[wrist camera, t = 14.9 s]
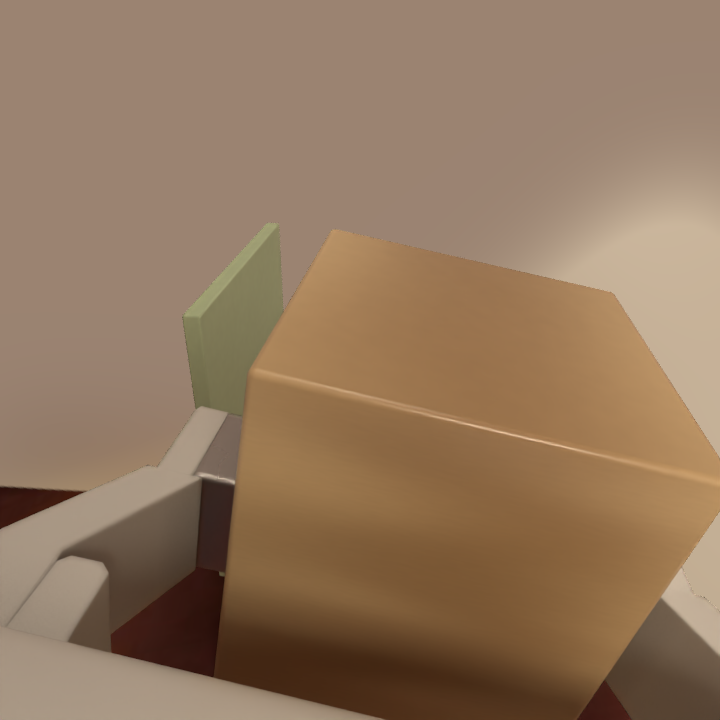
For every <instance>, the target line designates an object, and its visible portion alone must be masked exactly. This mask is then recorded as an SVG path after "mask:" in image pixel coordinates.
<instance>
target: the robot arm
mask: <svg viewBox="0 0 720 720" xmlns="http://www.w3.org/2000/svg"><path fill="white" fill-rule="evenodd" d="M241 425H242V416H241V415H237V414H233V413H231V414H230V413H228V412H224V411H220V410H216V409H212V408H208V407H204V406H200V407H199V408H197V409H196V410H195V411H194V412H193V414H192V415H191V417H190V418H189V420H188V421H187V423H186V424H185V425H184V427H183V429H182V430H181V431H180V433H179V434H178V436H177V438H176V439H175V440H174V442H173V443H172V445H171V446H170V448H169V449H168V451H167V452H166V454H165V455H164V457H163V458H162V460H161V461H160V463H159V464H158V466H157V467H155V466H150V465H146V466H144V467H142V468H139V469H137V470H135V471H132V472H130V473H128V474H126V475H123V476H121V477H119V478H117V479H114V480H112V481H110V482H107V483H105V484H103V485H100V486H98V487H96V488H94V489H91V490H89V491H87V492H84V493H82V494H80V495H77V496H75V497H73V498H71V499H68V500H66V501H64V502H61V503H59V504H57V505H55V506H52V507H50V508H48V509H45V510H43V511H41V512H39V513H36V514H34V515H32V516H29V517H27V518H25V519H22V520H20V521H18V522H16V523H13V524H11V525H9V526H6V527H4V528H2V529H0V720H385V719H381V718H377V717H373V716H369V715H365V714H361V713H357V712H353V711H349V710H344V709H340V708H336V707H332V706H328V705H324V704H320V703H316V702H312V701H307V700H303V699H299V698H295V697H291V696H287V695H283V694H279V693H275V692H270V691H266V690H262V689H258V688H254V687H250V686H246V685H242V684H238V683H233V682H229V681H225V680H221V679H217V678H213V677H209V676H205V675H200V674H196V673H192V672H188V671H184V670H180V669H176V668H172V667H168V666H163V665H159V664H155V663H151V662H147V661H143V660H139V659H135V658H130V657H126V656H122V655H118V654H114V653H111V634H112V633H113V632H114V631H116V630H117V629H118V628H120V627H121V626H122V625H124V624H125V623H126V622H128V621H129V620H130V619H132V618H133V617H134V616H135V615H137V614H138V613H139V612H141V611H142V610H143V609H145V608H146V607H147V606H149V605H150V604H151V603H153V602H154V601H155V600H156V599H158V598H159V597H160V596H162V595H163V594H164V593H166V592H167V591H168V590H170V589H171V588H172V587H174V586H175V585H176V584H177V583H179V582H180V581H181V580H183V579H184V578H185V577H187V576H188V575H189V574H191V573H192V572H193V571H195V567H200V568H204V569H209V570H214V571H219V572H223V573H225V569H226V560H227V551H228V542H229V533H230V524H231V515H232V506H233V497H234V488H235V479H236V470H237V461H238V452H239V443H240V434H241ZM605 681H606V682H607V684H608V685H609V687H610V688H611V690H612V691H613V693H614V694H615V696H616V697H617V699H618V700H619V702H620V703H621V704H622V706H623V707H624V709H625V710H626V712H627V713H628V715H629V716H630V718H631V719H632V720H720V611H719V610H718V609H717V608H716V607H715V606H714V605H713V604H711V603H710V602H709V601H708V600H707V599H706V598H705V597H702V596H698V595H695V594H694V592H693V590H692V588H691V586H690V583H689V581H688V579H687V577H686V575H685V573H684V570H683V568H682V567H681V569H680V570H679V571H678V573H677V574H676V576H675V577H674V579H673V580H672V582H671V583H670V585H669V586H668V588H667V589H666V590H665V592H664V593H663V595H662V596H661V598H660V599H659V601H658V602H657V604H656V605H655V607H654V608H653V609H652V611H651V612H650V614H649V615H648V617H647V618H646V620H645V621H644V623H643V624H642V625H641V627H640V628H639V630H638V631H637V633H636V634H635V636H634V637H633V639H632V640H631V642H630V643H629V644H628V646H627V647H626V649H625V650H624V652H623V653H622V655H621V656H620V658H619V659H618V661H617V662H616V663H615V665H614V666H613V668H612V669H611V671H610V672H609V674H608V675H607V677H606V678H605Z"/></svg>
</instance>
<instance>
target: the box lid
mask: <svg viewBox="0 0 720 720" xmlns="http://www.w3.org/2000/svg"><path fill="white" fill-rule="evenodd" d="M282 313H283V294H282V275H281V256H280V236H279V224H277V223H267V224H266V225H265V226H264V227H263V228H262V229H261V230H260V231H259V233H258V234H257V235H256V236H255V237H254V238H253V239H252V240H251V241H250V242H249V243H248V245H247V246H246V247H245V248H244V249H243V250H242V251H241V252H240V253H239V254H238V256H237V257H236V258H235V259H234V260H233V261H232V262H231V263H230V264H229V265H228V266H227V268H226V269H225V270H224V271H223V272H222V273H221V274H220V275H219V276H218V277H217V278H216V280H215V281H214V282H213V283H212V284H211V285H210V286H209V287H208V288H207V289H206V291H205V292H204V293H203V294H202V295H201V296H200V297H199V298H198V299H197V300H196V301H195V302H194V304H193V305H192V306H191V307H190V308H189V309H188V310H187V311H186V312H185V313H184V314H183V317H182V318H183V324H184V332H185V338H186V345H187V353H188V360H189V367H190V373H191V380H192V387H193V394H194V401H195V408H196V409H197V408H199V407H200V406H204V407H208V408H212V409H216V410H220V411H224V412H228V413H230V414H231V413H233V414H237V415H241V416H243V407H244V398H245V389H246V380H247V373H248V371H249V369H250V367H251V366H252V364H253V362H254V361H255V359H256V357H257V356H258V354H259V352H260V350H261V349H262V347H263V345H264V344H265V342H266V340H267V339H268V337H269V335H270V333H271V332H272V330H273V328H274V327H275V325H276V323H277V322H278V320H279V318H280V316H281V315H282ZM219 575H220V576H225V573H223V572H219Z"/></svg>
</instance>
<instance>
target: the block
mask: <svg viewBox="0 0 720 720" xmlns="http://www.w3.org/2000/svg"><path fill="white" fill-rule="evenodd" d="M719 512H720V458H719V456H718V455H717V453H716V452H715V450H714V449H713V447H712V446H711V444H710V442H709V441H708V439H707V438H706V436H705V435H704V433H703V432H702V430H701V428H700V427H699V425H698V424H697V422H696V421H695V419H694V418H693V416H692V415H691V413H690V411H689V410H688V408H687V407H686V405H685V404H684V402H683V400H682V399H681V397H680V396H679V394H678V393H677V391H676V390H675V388H674V387H673V385H672V383H671V382H670V380H669V379H668V377H667V376H666V374H665V373H664V371H663V369H662V368H661V366H660V365H659V363H658V362H657V360H656V359H655V357H654V355H653V354H652V352H651V351H650V349H649V348H648V346H647V345H646V343H645V341H644V340H643V339H642V337H641V335H640V334H639V332H638V331H637V329H636V328H635V326H634V325H633V323H632V321H631V320H630V318H629V317H628V315H627V314H626V312H625V311H624V309H623V308H622V306H621V304H620V303H619V301H618V300H617V298H616V296H615V295H614V294H613V293H611V292H607V291H603V290H599V289H595V288H590V287H586V286H581V285H577V284H573V283H568V282H564V281H559V280H555V279H551V278H547V277H542V276H538V275H533V274H529V273H525V272H520V271H516V270H512V269H507V268H503V267H498V266H494V265H489V264H485V263H481V262H476V261H472V260H467V259H463V258H459V257H455V256H450V255H446V254H441V253H437V252H433V251H428V250H424V249H420V248H415V247H411V246H407V245H402V244H398V243H393V242H389V241H385V240H381V239H376V238H372V237H367V236H363V235H359V234H354V233H349V232H345V231H341V230H336V229H334V230H331V232H330V233H329V235H328V237H327V238H326V240H325V242H324V243H323V245H322V247H321V248H320V250H319V252H318V254H317V255H316V257H315V259H314V260H313V262H312V264H311V265H310V267H309V269H308V271H307V273H306V274H305V276H304V277H303V279H302V281H301V282H300V284H299V286H298V288H297V289H296V291H295V293H294V294H293V296H292V298H291V299H290V301H289V303H288V305H287V306H286V308H285V310H284V311H283V313H282V315H281V316H280V318H279V320H278V322H277V323H276V325H275V327H274V328H273V330H272V332H271V333H270V335H269V337H268V339H267V340H266V342H265V344H264V345H263V347H262V349H261V350H260V352H259V354H258V356H257V357H256V359H255V361H254V362H253V364H252V366H251V367H250V369H249V371H248V373H247V380H246V389H245V398H244V407H243V416H242V425H241V434H240V443H239V452H238V461H237V470H236V479H235V488H234V497H233V506H232V515H231V524H230V533H229V542H228V551H227V560H226V569H225V578H224V587H223V596H222V605H221V614H220V623H219V632H218V641H217V650H216V659H215V668H214V677H213V678H217V679H221V680H225V681H229V682H233V683H238V684H242V685H246V686H250V687H254V688H258V689H262V690H266V691H270V692H275V693H279V694H283V695H287V696H291V697H295V698H299V699H303V700H307V701H312V702H316V703H320V704H324V705H328V706H332V707H336V708H340V709H344V710H349V711H353V712H357V713H361V714H365V715H369V716H373V717H377V718H381V719H385V720H577V719H578V717H579V716H580V715H581V713H582V712H583V710H584V709H585V707H586V706H587V704H588V703H589V701H590V700H591V698H592V697H593V696H594V694H595V693H596V691H597V690H598V688H599V687H600V685H601V684H602V682H603V681H604V680H605V678H606V677H607V675H608V674H609V672H610V671H611V669H612V668H613V666H614V665H615V663H616V662H617V661H618V659H619V658H620V656H621V655H622V653H623V652H624V650H625V649H626V647H627V646H628V644H629V643H630V642H631V640H632V639H633V637H634V636H635V634H636V633H637V631H638V630H639V628H640V627H641V625H642V624H643V623H644V621H645V620H646V618H647V617H648V615H649V614H650V612H651V611H652V609H653V608H654V607H655V605H656V604H657V602H658V601H659V599H660V598H661V596H662V595H663V593H664V592H665V590H666V589H667V588H668V586H669V585H670V583H671V582H672V580H673V579H674V577H675V576H676V574H677V573H678V571H679V570H680V569H681V567H682V565H683V564H684V563H685V561H686V560H687V558H688V557H689V555H690V554H691V552H692V551H693V549H694V548H695V547H696V545H697V543H698V542H699V541H700V539H701V538H702V536H703V535H704V533H705V532H706V531H707V529H708V528H709V526H710V525H711V523H712V522H713V520H714V519H715V517H716V516H717V515H718V513H719Z"/></svg>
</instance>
